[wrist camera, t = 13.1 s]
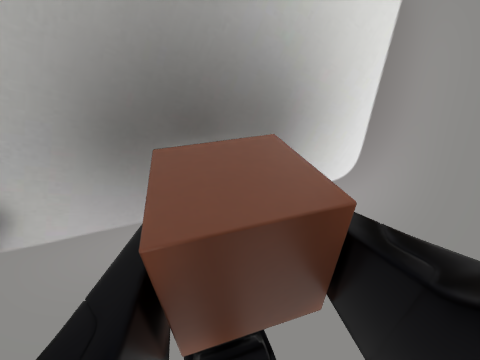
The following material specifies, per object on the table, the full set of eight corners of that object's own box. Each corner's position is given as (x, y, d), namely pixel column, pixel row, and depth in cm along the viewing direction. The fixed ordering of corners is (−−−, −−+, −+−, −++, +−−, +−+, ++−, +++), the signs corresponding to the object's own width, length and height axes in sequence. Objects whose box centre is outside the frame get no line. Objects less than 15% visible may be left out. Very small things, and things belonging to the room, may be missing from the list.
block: (268, 219, 11) (321, 310, 7) (176, 240, 10) (182, 357, 6) (274, 133, 8) (358, 202, 5) (152, 149, 7) (137, 252, 4)
